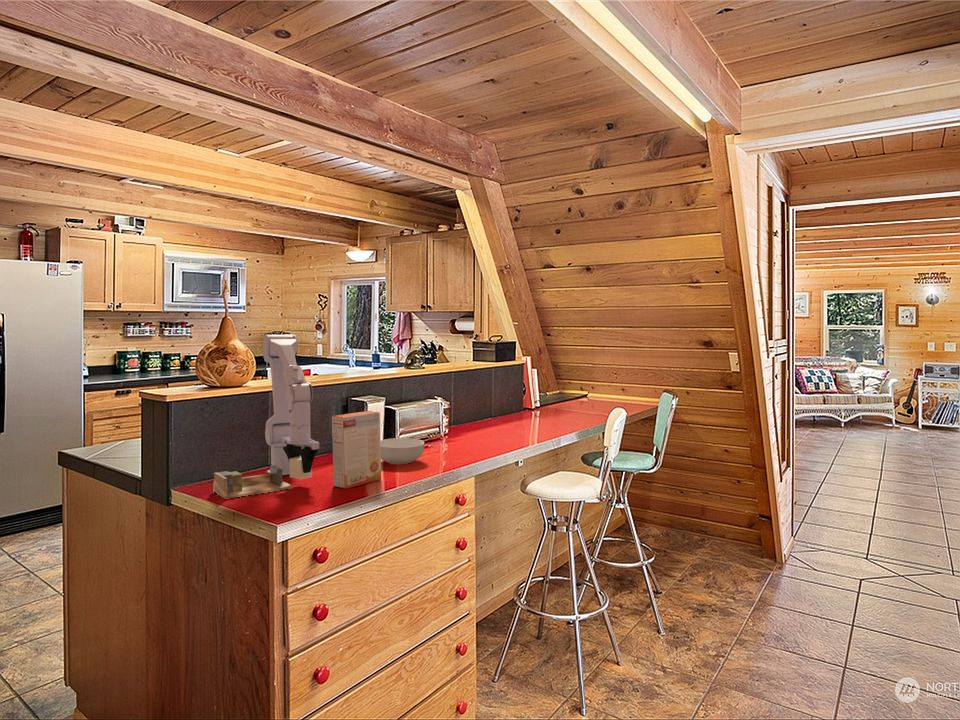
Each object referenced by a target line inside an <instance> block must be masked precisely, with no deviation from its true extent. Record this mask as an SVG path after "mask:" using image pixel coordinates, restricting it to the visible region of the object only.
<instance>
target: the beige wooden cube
mask: <svg viewBox="0 0 960 720" xmlns="http://www.w3.org/2000/svg"><path fill="white" fill-rule="evenodd" d="M289 462H290V474H289V478H292V479H297V480H305V479H309V478H312V477H313V467H312V468H311V472H308V473H303V468H302V459H301V456H299V457H295V458H290V459H289Z"/></svg>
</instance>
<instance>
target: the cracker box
mask: <svg viewBox="0 0 960 720" xmlns="http://www.w3.org/2000/svg"><path fill="white" fill-rule="evenodd" d="M380 415H381V413H380V412H379V411H372V410H367V411H366V410H364V411H359V412H357V411H356V412H352V413H344V414H338V415H337V414H336V415H332V416H331V436H332V439H331V441H332V445H331V446H332V467H333V468H332V472H333V477H332V478H333V487H336V488H341V489H345V490H347V489H350V488H355V487H357V486H362V485H366V484H369V483H373V482H377V481H381V480H382V459H381V447H380V440H381V418H380V417H381V416H380Z"/></svg>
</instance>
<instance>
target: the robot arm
mask: <svg viewBox="0 0 960 720" xmlns="http://www.w3.org/2000/svg"><path fill="white" fill-rule="evenodd" d="M298 340H299V339H298V337H297V335H296V334H265V335H264V336H263V339H262V354H263V356H262V358H263V359H264V362H266V363H268V364H269V367H270V374H271V376H270V377H271V390H272V392H271V393H272V402H273V404H272V405H273V406H272V407H273V415H272V416H271V417H269V419H267V420H266V421H265V429H264V430H265V431H264V435H265V436H264V437H265V441H266V444H267V445H268V446H270V458H271V459H270V462H271V465H270V466H277V467H280V468H282V476H287V475H288V476H290V462H289V459H290V458H295V457H299V456H301V459H302V468H303V473H308V472H311V468H312V469H313V464H314V459H315V457H316V455H317V454H318V452H319V449H320V442H319V441H316V440H314V439H312V438H311V436H312V435H311V403H312V402H313V398H314V390H313V385H312V383H311V382H309V380H306V377H305V373H304V371H303V368H302V367H301V366H299V365H298V364H297V359H296V354H297V351H298V350H299V341H298ZM266 473H267V474H270V469H269V470H266Z"/></svg>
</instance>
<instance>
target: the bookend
mask: <svg viewBox="0 0 960 720" xmlns="http://www.w3.org/2000/svg"><path fill="white" fill-rule="evenodd" d="M269 470H270V473H269V474H270V481H271V482H273V483H275V484H282V481H283V475H282V468H280V467H277V466H271V465H270V466H269Z"/></svg>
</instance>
